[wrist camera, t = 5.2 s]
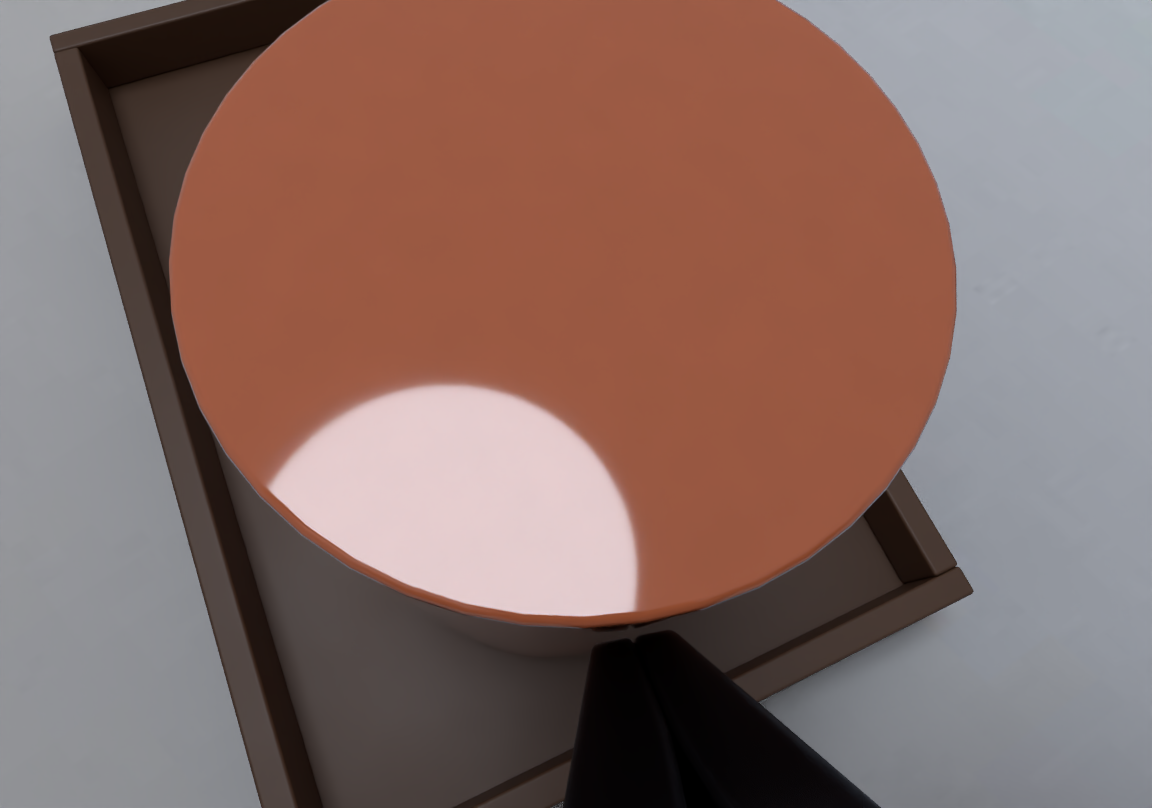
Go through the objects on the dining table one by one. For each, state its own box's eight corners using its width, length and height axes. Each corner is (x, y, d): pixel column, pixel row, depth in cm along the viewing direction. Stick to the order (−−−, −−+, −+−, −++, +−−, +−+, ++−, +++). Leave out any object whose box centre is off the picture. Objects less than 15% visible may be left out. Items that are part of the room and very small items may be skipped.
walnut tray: (921, 602, 17) (976, 592, 15) (330, 898, 15) (295, 937, 13) (559, -29, 24) (562, -100, 21) (97, 100, 21) (47, 34, 19)
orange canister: (754, 577, 17) (1120, 415, 6) (459, 716, 15) (307, 803, 5) (621, 316, 19) (733, -130, 8) (351, 419, 17) (82, 41, 7)
